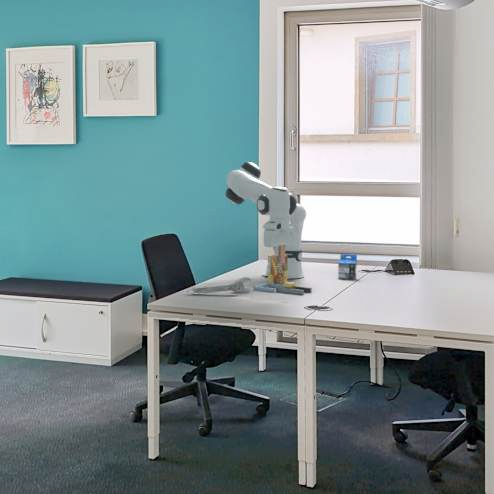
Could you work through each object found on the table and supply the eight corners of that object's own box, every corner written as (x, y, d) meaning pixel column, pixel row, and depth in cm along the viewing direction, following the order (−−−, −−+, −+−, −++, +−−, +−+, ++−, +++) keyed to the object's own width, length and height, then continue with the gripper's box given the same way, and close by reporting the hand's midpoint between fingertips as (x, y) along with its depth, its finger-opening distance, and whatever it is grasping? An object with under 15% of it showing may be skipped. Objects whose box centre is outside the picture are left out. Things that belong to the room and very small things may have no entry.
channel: (274, 295, 322) (274, 287, 322) (286, 292, 331) (286, 284, 330) (301, 298, 314) (301, 290, 314) (312, 295, 323) (312, 287, 322)
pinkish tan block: (274, 263, 314) (274, 240, 312) (279, 262, 317) (279, 240, 316) (280, 264, 312) (279, 241, 311) (285, 262, 315) (285, 240, 314)
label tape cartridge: (337, 278, 369) (338, 254, 367) (339, 277, 372) (340, 253, 371) (354, 279, 366) (355, 255, 364) (356, 278, 369) (357, 254, 368)
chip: (283, 291, 323) (283, 282, 323) (288, 290, 326) (288, 281, 326) (291, 292, 321) (291, 283, 320) (296, 291, 324) (296, 282, 323)
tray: (253, 293, 328) (253, 286, 328) (267, 289, 338) (267, 283, 337) (273, 295, 322) (273, 289, 321) (287, 291, 331) (287, 285, 331)
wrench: (189, 300, 326) (254, 293, 325) (188, 301, 324) (254, 294, 323) (186, 283, 325) (252, 275, 324) (186, 284, 324) (251, 276, 322)
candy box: (284, 284, 350) (284, 253, 348) (287, 286, 346) (287, 254, 344) (267, 286, 347) (267, 254, 345) (270, 287, 343) (270, 255, 341)
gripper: (286, 222, 323) (286, 252, 324) (260, 225, 306) (261, 257, 308) (298, 222, 319) (298, 253, 321) (273, 226, 303) (273, 258, 304)
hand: (279, 255), depth 314 cm, fingers closed on pinkish tan block, 3 cm apart
